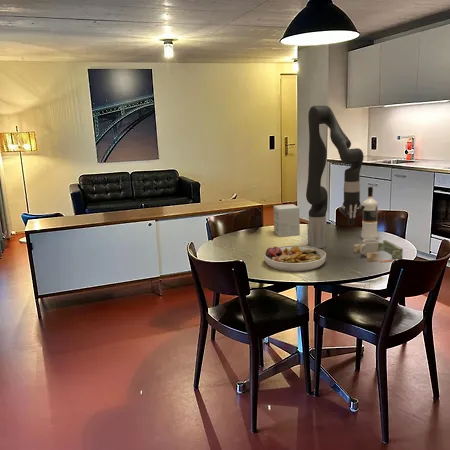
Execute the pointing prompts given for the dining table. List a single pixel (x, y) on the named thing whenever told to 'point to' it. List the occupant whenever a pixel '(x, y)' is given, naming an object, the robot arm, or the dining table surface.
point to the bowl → (294, 258)
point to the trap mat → (386, 260)
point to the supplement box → (286, 220)
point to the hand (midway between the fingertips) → (351, 225)
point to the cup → (369, 246)
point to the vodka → (370, 217)
